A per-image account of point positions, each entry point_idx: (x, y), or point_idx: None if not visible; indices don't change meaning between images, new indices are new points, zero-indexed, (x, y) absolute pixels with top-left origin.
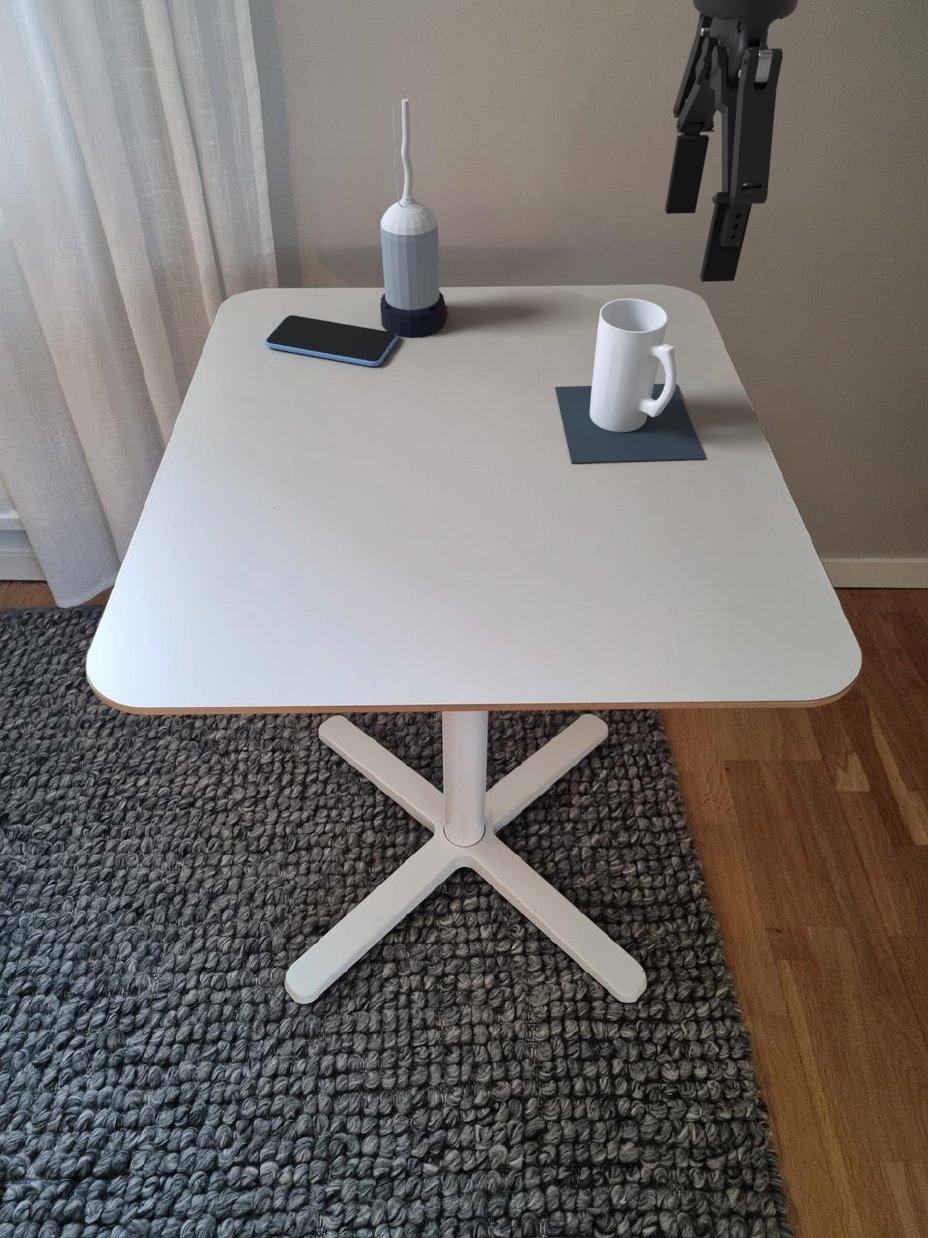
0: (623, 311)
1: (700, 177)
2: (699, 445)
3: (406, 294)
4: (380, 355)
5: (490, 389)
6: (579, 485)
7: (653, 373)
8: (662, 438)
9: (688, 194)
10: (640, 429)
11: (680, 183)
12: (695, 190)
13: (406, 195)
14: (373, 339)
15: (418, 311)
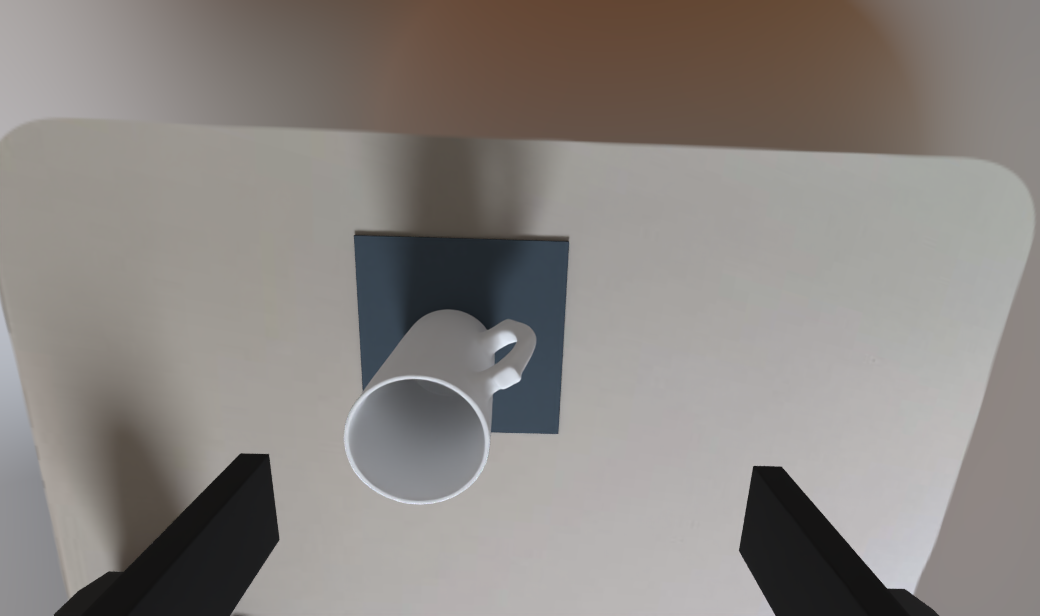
0: (359, 432)
1: (194, 542)
2: (535, 242)
3: None
4: None
5: (368, 514)
6: (605, 429)
7: (473, 353)
8: (512, 296)
9: (239, 528)
10: (486, 324)
11: (222, 595)
12: (227, 516)
13: None
14: None
15: None
